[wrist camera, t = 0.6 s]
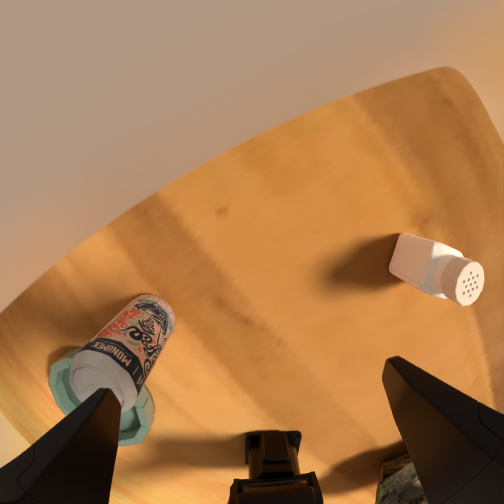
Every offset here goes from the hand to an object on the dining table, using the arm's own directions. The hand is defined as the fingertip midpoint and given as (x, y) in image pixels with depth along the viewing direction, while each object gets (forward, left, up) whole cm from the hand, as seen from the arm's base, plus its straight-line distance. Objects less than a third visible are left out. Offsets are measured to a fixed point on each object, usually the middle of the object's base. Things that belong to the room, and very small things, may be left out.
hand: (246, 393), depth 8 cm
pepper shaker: (+1, -15, -17) cm, 23 cm away
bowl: (-16, +17, -17) cm, 29 cm away
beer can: (-5, +9, -17) cm, 20 cm away
